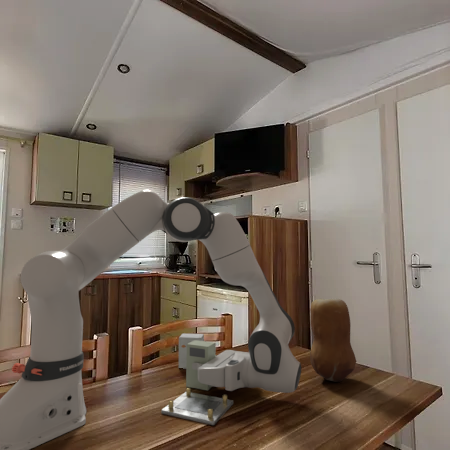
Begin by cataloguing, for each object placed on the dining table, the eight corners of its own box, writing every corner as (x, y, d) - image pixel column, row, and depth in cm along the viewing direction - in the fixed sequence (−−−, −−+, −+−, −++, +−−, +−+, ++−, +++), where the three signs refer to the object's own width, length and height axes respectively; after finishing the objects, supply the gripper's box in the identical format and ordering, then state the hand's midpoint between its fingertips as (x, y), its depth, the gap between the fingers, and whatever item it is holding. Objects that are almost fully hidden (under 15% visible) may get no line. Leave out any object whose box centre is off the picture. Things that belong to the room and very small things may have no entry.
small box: (204, 364, 117) (204, 333, 118) (201, 369, 111) (201, 337, 112) (181, 363, 118) (182, 333, 119) (178, 368, 112) (178, 336, 113)
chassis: (213, 425, 75) (213, 414, 75) (161, 413, 81) (161, 403, 81) (233, 403, 86) (233, 394, 86) (186, 394, 92) (186, 385, 92)
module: (207, 390, 94) (208, 346, 95) (186, 386, 97) (186, 344, 98) (215, 384, 98) (215, 342, 100) (194, 380, 101) (195, 340, 102)
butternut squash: (322, 369, 113) (320, 294, 115) (362, 379, 104) (360, 298, 106) (302, 380, 102) (301, 298, 104) (345, 393, 93) (343, 302, 96)
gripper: (253, 347, 103) (213, 342, 108) (228, 367, 84) (181, 360, 90) (253, 368, 102) (213, 362, 108) (228, 393, 84) (180, 385, 89)
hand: (198, 361), depth 98 cm, fingers closed on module, 5 cm apart
